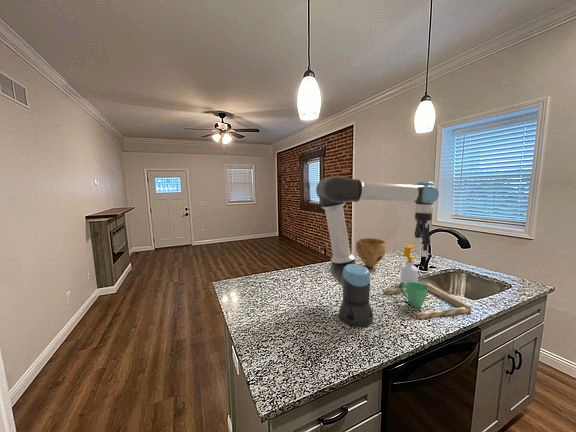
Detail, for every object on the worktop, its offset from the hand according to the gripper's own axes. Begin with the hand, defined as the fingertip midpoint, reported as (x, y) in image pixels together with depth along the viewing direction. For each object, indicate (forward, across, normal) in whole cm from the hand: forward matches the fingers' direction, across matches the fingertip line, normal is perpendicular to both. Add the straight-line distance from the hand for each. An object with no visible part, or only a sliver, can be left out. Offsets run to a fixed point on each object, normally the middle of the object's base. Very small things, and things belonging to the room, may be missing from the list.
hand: (420, 253), depth 128 cm
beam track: (+24, -4, -2) cm, 25 cm away
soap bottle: (+24, +16, +1) cm, 30 cm away
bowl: (+25, +46, +21) cm, 56 cm away
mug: (+25, -7, +4) cm, 26 cm away
